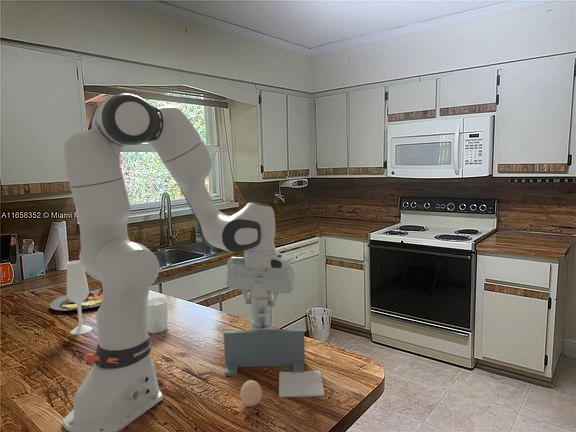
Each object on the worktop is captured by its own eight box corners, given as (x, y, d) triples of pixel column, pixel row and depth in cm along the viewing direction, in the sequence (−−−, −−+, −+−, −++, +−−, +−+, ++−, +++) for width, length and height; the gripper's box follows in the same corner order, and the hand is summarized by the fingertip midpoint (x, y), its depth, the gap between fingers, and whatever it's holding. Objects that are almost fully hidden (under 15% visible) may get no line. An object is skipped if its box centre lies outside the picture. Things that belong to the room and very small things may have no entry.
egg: (245, 396, 98) (244, 374, 97) (265, 400, 97) (264, 377, 96) (237, 409, 93) (236, 385, 92) (257, 413, 92) (256, 388, 91)
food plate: (121, 290, 181) (120, 282, 180) (117, 308, 159) (116, 300, 158) (58, 298, 173) (57, 291, 172) (44, 319, 151) (43, 310, 151)
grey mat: (324, 396, 98) (324, 394, 98) (279, 397, 98) (278, 395, 97) (320, 372, 109) (320, 370, 109) (279, 373, 108) (279, 371, 108)
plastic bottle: (260, 333, 125) (258, 270, 121) (277, 339, 120) (275, 274, 117) (245, 340, 120) (243, 275, 116) (262, 347, 115) (261, 279, 112)
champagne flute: (83, 335, 135) (76, 265, 131) (65, 333, 136) (58, 264, 133) (96, 326, 141) (90, 259, 138) (79, 325, 143) (73, 259, 139)
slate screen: (305, 373, 108) (305, 338, 107) (223, 375, 108) (221, 340, 106) (304, 362, 114) (303, 328, 113) (226, 364, 114) (224, 330, 112)
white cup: (173, 328, 139) (171, 300, 137) (152, 336, 133) (150, 307, 132) (161, 322, 144) (159, 295, 143) (140, 329, 138) (138, 301, 137)
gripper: (222, 258, 116) (223, 305, 118) (290, 263, 111) (290, 312, 112) (231, 254, 122) (232, 298, 124) (296, 258, 117) (296, 304, 118)
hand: (260, 305), depth 118 cm, fingers closed on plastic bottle, 6 cm apart
